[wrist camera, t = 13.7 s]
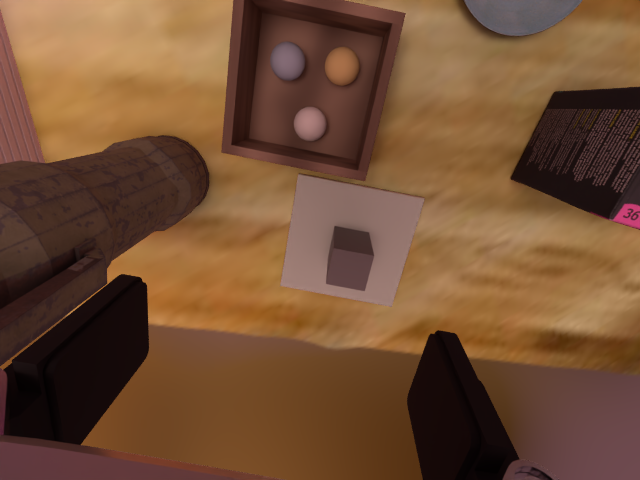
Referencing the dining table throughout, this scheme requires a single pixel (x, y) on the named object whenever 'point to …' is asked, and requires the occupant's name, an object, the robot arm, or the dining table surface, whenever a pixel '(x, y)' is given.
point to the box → (308, 82)
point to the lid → (349, 239)
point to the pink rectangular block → (14, 110)
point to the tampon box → (588, 153)
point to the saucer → (520, 14)
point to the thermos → (83, 224)
